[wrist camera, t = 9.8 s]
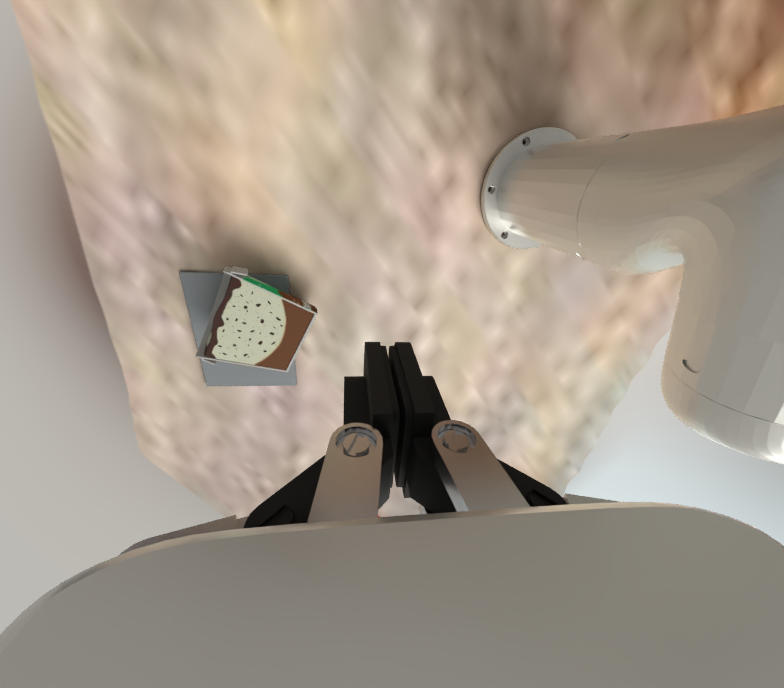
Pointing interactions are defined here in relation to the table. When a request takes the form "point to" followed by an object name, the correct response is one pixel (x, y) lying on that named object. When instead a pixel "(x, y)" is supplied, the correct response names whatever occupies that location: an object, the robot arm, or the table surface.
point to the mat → (200, 304)
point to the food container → (254, 324)
